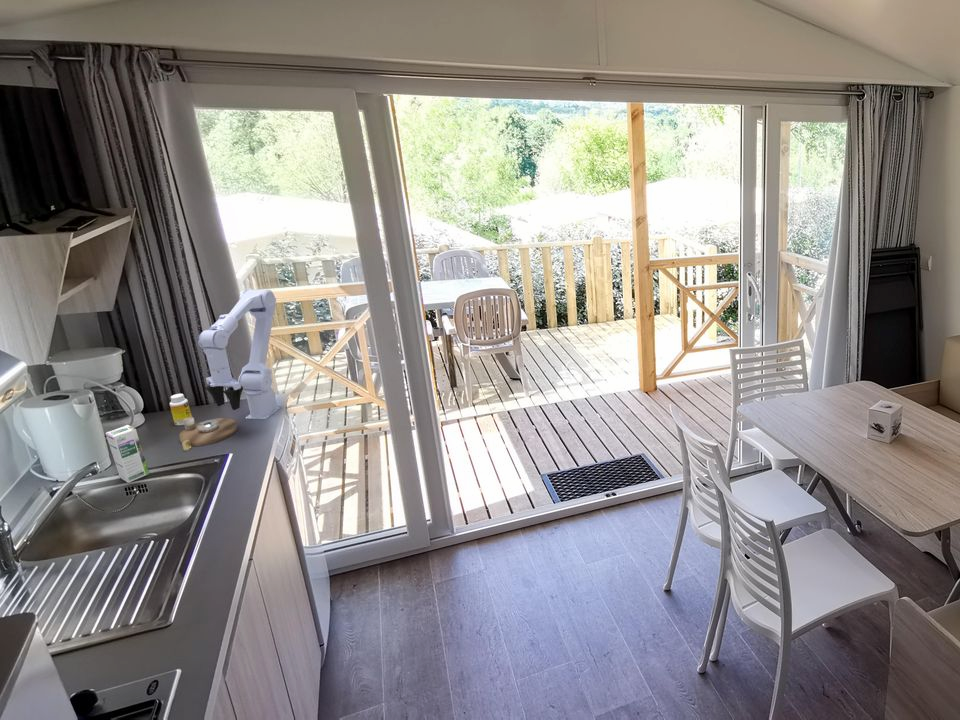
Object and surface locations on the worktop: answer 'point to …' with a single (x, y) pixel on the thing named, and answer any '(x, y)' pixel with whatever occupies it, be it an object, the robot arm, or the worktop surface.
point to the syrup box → (127, 453)
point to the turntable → (199, 439)
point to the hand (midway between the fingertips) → (228, 406)
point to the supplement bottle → (179, 408)
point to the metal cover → (208, 426)
